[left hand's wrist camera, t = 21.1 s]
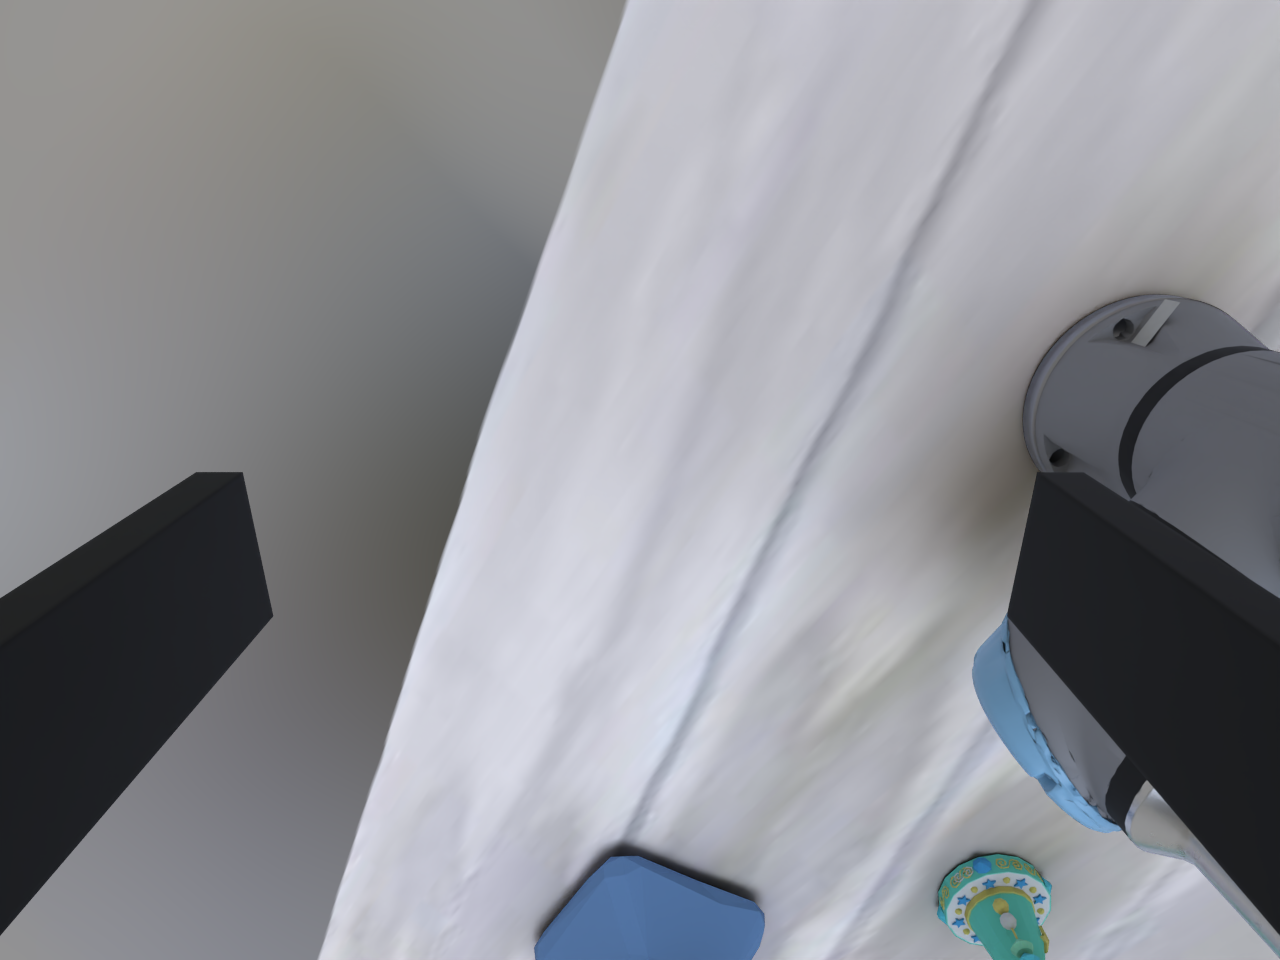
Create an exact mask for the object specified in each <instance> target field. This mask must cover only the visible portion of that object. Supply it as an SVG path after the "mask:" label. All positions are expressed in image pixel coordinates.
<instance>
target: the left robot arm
mask: <svg viewBox="0 0 1280 960" xmlns="http://www.w3.org/2000/svg"><path fill="white" fill-rule="evenodd" d="M1023 430H1024V438H1025V442H1026V446H1027V449H1028V451H1029V454H1030V456H1031V458H1032V460H1033V462H1034V463H1035V465H1036V466H1037V468H1038V469H1039V470H1040V471H1041V472H1037V476H1036V481H1035V486H1034V491H1033V495H1032V500H1031V505H1030V509H1029V514H1028V519H1027V523H1026V528H1025V533H1024V538H1023V542H1022V547H1021V552H1020V556H1019V561H1018V566H1017V570H1016V575H1015V580H1014V585H1013V589H1012V594H1011V599H1010V603H1009V608H1008V612H1007V614H1006V616H1005V618H1004V620H1003V622H1002V624H1001V625H1000V626H999V627H998V628H997V629H996V631H995V632H994V633H993V634H992V635H991V636H990V637H989V638H988V639H987V640H986V641H985V642H984V643H983V644H982V645H981V647H980V648H979V649H978V651H977V652H976V654H975V657H974V666H973V669H972V678H973V683H974V687H975V691H976V694H977V696H978V699H979V701H980V704H981V706H982V708H983V710H984V712H985V714H986V716H987V717H988V719H989V721H990V723H991V724H992V726H993V728H994V729H995V731H996V732H997V734H998V735H999V737H1000V738H1001V740H1002V741H1003V743H1004V744H1005V746H1006V747H1007V748H1008V750H1009V751H1010V753H1011V754H1012V755H1013V757H1014V758H1015V759H1016V760H1017V762H1018V763H1019V764H1020V765H1021V767H1022V768H1023V769H1024V770H1025V771H1026V772H1027V773H1028V774H1029V775H1030V776H1031V777H1034V778H1036V779H1037V780H1038V781H1039V783H1040V784H1041V786H1042V788H1043V789H1044V791H1045V792H1046V794H1047V795H1048V796H1049V797H1050V798H1051V799H1052V800H1053V801H1054V802H1055V803H1056V804H1057V805H1058V806H1059V807H1060V808H1061V809H1062V810H1064V811H1065V812H1066V813H1067V814H1068V815H1070V816H1071V817H1072V818H1074V819H1075V820H1076V821H1078V822H1079V823H1081V824H1082V825H1084V826H1086V827H1088V828H1090V829H1092V830H1096V831H1099V832H1103V833H1109V832H1112V831H1120V830H1123V831H1124V833H1125V834H1126V835H1127V836H1128V837H1129V839H1130V840H1131V841H1132V842H1133V843H1134V844H1135V845H1136V846H1137V847H1138V848H1139V849H1141V850H1143V851H1145V852H1149V853H1153V854H1158V855H1162V856H1167V857H1172V858H1177V859H1181V860H1185V861H1187V862H1189V863H1192V864H1194V865H1195V866H1196V867H1197V868H1198V869H1199V871H1200V872H1201V873H1202V874H1203V875H1204V876H1205V877H1206V878H1207V879H1208V880H1209V881H1210V883H1211V884H1212V885H1213V886H1214V887H1215V888H1216V889H1217V890H1218V891H1219V892H1220V894H1221V895H1222V896H1223V897H1224V898H1225V899H1226V900H1227V901H1228V902H1229V903H1230V904H1231V906H1232V907H1233V908H1234V909H1235V910H1236V911H1237V912H1238V913H1239V914H1240V915H1241V917H1242V918H1243V919H1244V920H1245V921H1246V922H1247V923H1248V924H1249V925H1250V926H1251V927H1252V929H1253V930H1254V931H1255V932H1256V933H1257V934H1258V935H1259V936H1260V937H1261V938H1262V940H1263V941H1264V942H1265V943H1266V944H1267V945H1268V946H1269V947H1270V948H1271V949H1272V951H1273V952H1274V953H1275V954H1276V955H1277V956H1278V957H1279V958H1280V352H1276V351H1272V350H1269V349H1268V348H1267V347H1266V346H1265V345H1263V344H1262V343H1261V342H1260V341H1259V340H1258V339H1257V338H1255V337H1254V336H1253V335H1252V334H1251V333H1250V332H1249V331H1247V330H1246V329H1245V328H1244V327H1243V326H1242V325H1241V324H1239V323H1238V322H1237V321H1236V320H1235V319H1233V318H1232V317H1231V316H1229V315H1228V314H1227V313H1225V312H1223V311H1222V310H1220V309H1218V308H1216V307H1214V306H1212V305H1210V304H1207V303H1204V302H1201V301H1197V300H1192V299H1187V298H1183V297H1178V296H1172V295H1143V296H1137V297H1132V298H1128V299H1124V300H1121V301H1118V302H1115V303H1112V304H1110V305H1107V306H1105V307H1103V308H1101V309H1099V310H1097V311H1095V312H1093V313H1092V314H1090V315H1088V316H1087V317H1085V318H1084V319H1082V320H1081V321H1079V322H1078V323H1077V324H1075V325H1074V326H1073V327H1072V328H1071V329H1069V330H1068V331H1067V332H1066V333H1065V334H1064V335H1063V336H1062V337H1061V338H1060V339H1059V340H1058V341H1057V342H1056V343H1055V344H1054V345H1053V347H1052V348H1051V349H1050V350H1049V352H1048V353H1047V354H1046V356H1045V357H1044V359H1043V360H1042V362H1041V363H1040V365H1039V367H1038V368H1037V370H1036V372H1035V374H1034V376H1033V378H1032V381H1031V383H1030V386H1029V389H1028V392H1027V395H1026V400H1025V404H1024V412H1023ZM272 617H273V613H272V608H271V603H270V599H269V594H268V589H267V585H266V580H265V575H264V570H263V566H262V561H261V556H260V552H259V547H258V542H257V538H256V533H255V528H254V524H253V519H252V514H251V509H250V505H249V500H248V495H247V491H246V486H245V481H244V476H243V473H242V472H196V473H194V474H193V475H191V476H190V477H188V478H187V479H185V480H183V481H182V482H180V483H179V484H177V485H176V486H174V487H173V488H171V489H170V490H168V491H167V492H165V493H163V494H162V495H160V496H159V497H157V498H156V499H154V500H152V501H151V502H149V503H148V504H146V505H145V506H143V507H142V508H140V509H138V510H137V511H135V512H134V513H132V514H131V515H129V516H128V517H126V518H124V519H123V520H121V521H120V522H118V523H117V524H115V525H114V526H112V527H111V528H109V529H107V530H106V531H104V532H103V533H101V534H100V535H98V536H96V537H95V538H93V539H92V540H90V541H89V542H87V543H86V544H84V545H82V546H81V547H79V548H78V549H76V550H75V551H73V552H72V553H70V554H68V555H67V556H65V557H64V558H62V559H61V560H59V561H58V562H56V563H54V564H53V565H51V566H50V567H48V568H47V569H45V570H44V571H42V572H40V573H39V574H37V575H36V576H34V577H33V578H31V579H30V580H28V581H26V582H25V583H23V584H22V585H20V586H19V587H17V588H16V589H14V590H12V591H11V592H9V593H8V594H6V595H5V596H3V597H2V598H0V935H1V934H2V933H3V932H4V930H5V929H6V928H7V927H8V926H9V925H10V924H11V922H12V921H13V920H14V919H15V918H16V917H17V915H18V914H19V913H20V912H21V911H22V909H23V908H24V907H25V906H26V905H27V904H28V902H29V901H30V900H31V899H32V898H33V897H34V895H35V894H36V893H37V892H38V891H39V890H40V888H41V887H42V886H43V885H44V884H45V883H46V881H47V880H48V879H49V878H50V877H51V876H52V874H53V873H54V872H55V871H56V870H57V869H58V867H59V866H60V865H61V864H62V863H63V862H64V860H65V859H66V858H67V857H68V856H69V854H70V853H71V852H72V851H73V850H74V849H75V847H76V846H77V845H78V844H79V843H80V842H81V840H82V839H83V838H84V837H85V836H86V835H87V833H88V832H89V831H90V830H91V829H92V828H93V826H94V825H95V824H96V823H97V822H98V820H99V819H100V818H101V817H102V816H103V815H104V814H105V812H106V811H107V810H108V809H109V808H110V807H111V805H112V804H113V803H114V802H115V801H116V799H117V798H118V797H119V796H120V795H121V794H122V792H123V791H124V790H125V789H126V788H127V787H128V785H129V784H130V783H131V782H132V781H133V780H134V778H135V777H136V776H137V775H138V774H139V773H140V771H141V770H142V769H143V768H144V767H145V765H146V764H147V763H148V762H149V761H150V760H151V759H152V757H153V756H154V755H155V754H156V753H157V751H158V750H159V749H160V748H161V747H162V746H163V744H164V743H165V742H166V741H167V740H168V739H169V737H170V736H171V735H172V734H173V733H174V732H175V730H176V729H177V728H178V727H179V726H180V725H181V723H182V722H183V721H184V720H185V719H186V718H187V716H188V715H189V714H190V713H191V712H192V711H193V709H194V708H195V707H196V706H197V705H198V704H199V702H200V701H201V700H202V699H203V698H204V696H205V695H206V694H207V693H208V692H209V691H210V690H211V688H212V687H213V686H214V685H215V684H216V682H217V681H218V680H219V679H220V678H221V677H222V675H223V674H224V673H225V672H226V671H227V670H228V668H229V667H230V666H231V665H232V664H233V663H234V661H235V660H236V659H237V658H238V657H239V656H240V654H241V653H242V652H243V651H244V650H245V649H246V647H247V646H248V645H249V644H250V643H251V642H252V640H253V639H254V638H255V637H256V636H257V635H258V633H259V632H260V631H261V630H262V629H263V627H264V626H265V625H266V624H267V623H268V622H269V620H270V619H271V618H272Z"/></svg>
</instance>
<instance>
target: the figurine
mask: <svg viewBox="0 0 1280 960" xmlns="http://www.w3.org/2000/svg"><path fill="white" fill-rule="evenodd" d="M764 927H765V921H764V913H763V912H762V911H761V909H760V908H759V907H758V906H757V905H756V903H755V902H753V901H750V900H748V899H745V898H742V897H740V896H737V895H734V894H732V893H729V892H726V891H724V890H721V889H718V888H716V887H713V886H710V885H708V884H705V883H702V882H700V881H697V880H695V879H692V878H690V877H687V876H685V875H683V874H680V873H678V872H675V871H673V870H671V869H668V868H666V867H663V866H661V865H659V864H656V863H654V862H651V861H649V860H647V859H644V858H642V857H640V856H619V857H610V858H609V859H608V860H607V861H606V862H605V863H604V864H603V865H602V866H601V867H600V868H599V869H598V870H597V871H596V872H595V873H593V874H592V875H591V876H590V877H589V878H588V879H587V881H586V882H585V883H584V884H583V885H582V887H581V888H580V889H579V890H578V891H577V893H576V894H575V895H574V896H573V897H572V899H571V900H570V901H569V902H568V903H567V905H566V906H565V907H564V908H563V909H562V911H561V912H560V913H559V914H558V915H557V917H556V918H555V919H554V920H553V921H552V923H551V924H550V925H549V926H548V927H547V929H546V930H545V931H544V933H543V934H542V936H541V937H540V939H539V941H538V942H537V944H536V946H535V947H534V950H535V960H751V959H752V958H753V956H754V955H755V953H756V951H757V950H758V948H759V946H760V943H761V939H762V936H763V932H764Z"/></svg>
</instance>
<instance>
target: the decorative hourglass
mask: <svg viewBox="0 0 1280 960" xmlns="http://www.w3.org/2000/svg"><path fill="white" fill-rule="evenodd" d="M1051 887H1052V885H1051V884H1050V883H1049V882H1048V881H1047V880H1045V879H1044V878H1043V877H1040V875H1039V874H1038V872H1037V871H1036V870H1035V868H1034V867H1033V865H1031V864H1029V863H1027V862H1026V861H1024V860H1022V859H1020V858H1018V857H1014V856H1007V855H1000V854H996V855H989V856H983V857H977V858H975V859H973V860H970V861H968V862H966V863H964V864H961V865H959V866H958V867H957V868H956V869H955V870H953V871H952V872H951V873H950V874H949V875H948V876H947V877H946V878H945V879H944V881H943V883H942V885H941V888H940V890H939V892H938V896H939V907H938V911H937V915H938V918H939V919H940V920H942V921H943V922H944V923H945V924H947V925H948V927H949V928H950V929H951V931H952V932H953V934H954V935H955V936H956V937H958V938H960V939H962V940H964V941H966V942H968V943H969V944H975V945H981V946H984V947H985V948H986V950H987V951H988V953H989V954H990V956H991V957H992V959H993V960H1045V953H1047V952H1048V946H1049V939H1048V937H1047V936H1046V934H1045V932H1044V930H1043V928H1042V926H1041V925H1043V923H1044V921H1045V919H1046V918H1047V916H1048V914H1049V912H1050V911H1051V895H1050V893H1051ZM1039 928H1040V929H1039ZM1040 930H1041V932H1040ZM1041 933H1042V935H1041Z"/></svg>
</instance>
